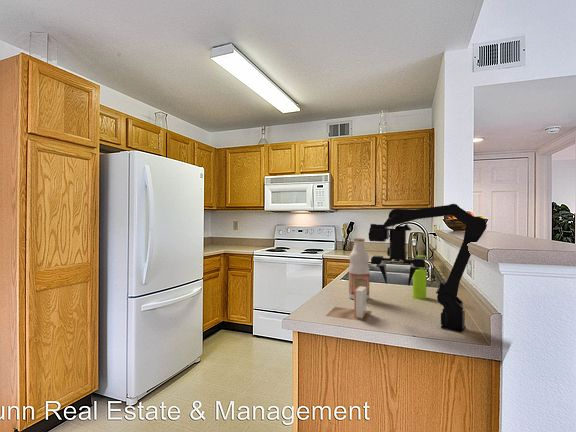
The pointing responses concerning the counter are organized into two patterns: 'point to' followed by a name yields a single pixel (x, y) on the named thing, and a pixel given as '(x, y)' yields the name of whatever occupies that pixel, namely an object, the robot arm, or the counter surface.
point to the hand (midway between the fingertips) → (397, 284)
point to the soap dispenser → (419, 282)
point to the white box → (359, 302)
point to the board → (346, 313)
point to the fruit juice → (358, 268)
